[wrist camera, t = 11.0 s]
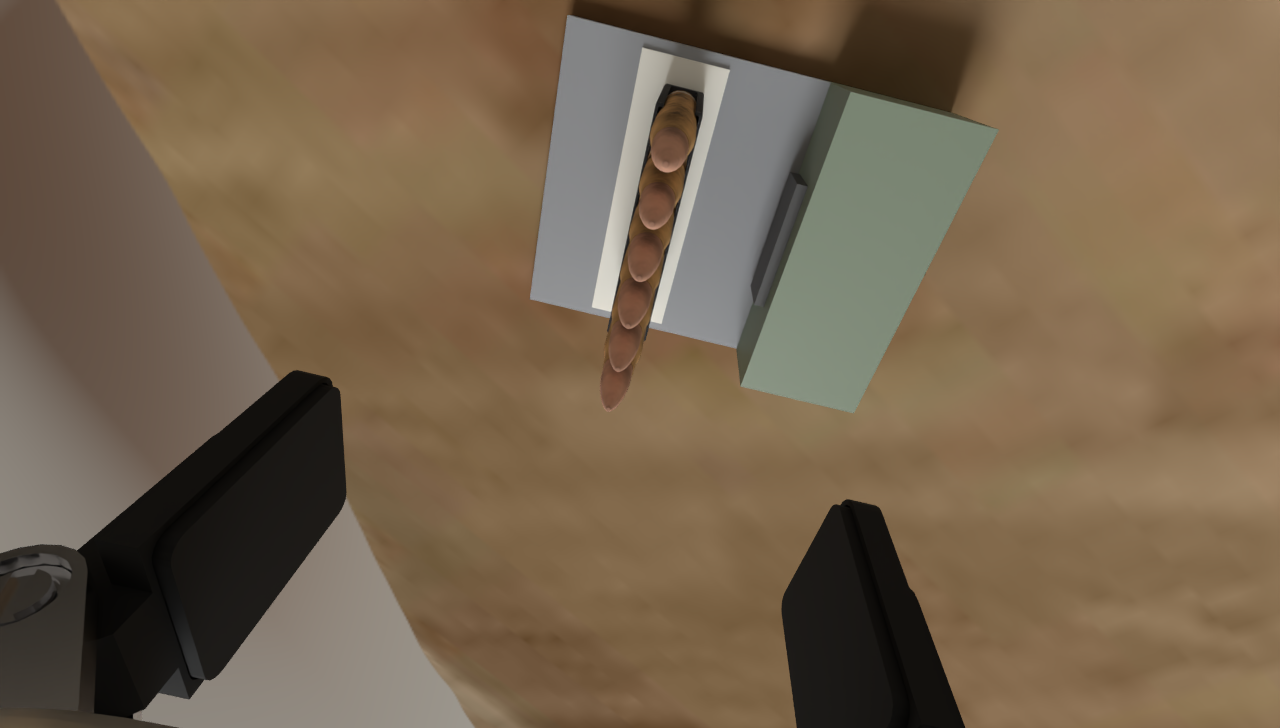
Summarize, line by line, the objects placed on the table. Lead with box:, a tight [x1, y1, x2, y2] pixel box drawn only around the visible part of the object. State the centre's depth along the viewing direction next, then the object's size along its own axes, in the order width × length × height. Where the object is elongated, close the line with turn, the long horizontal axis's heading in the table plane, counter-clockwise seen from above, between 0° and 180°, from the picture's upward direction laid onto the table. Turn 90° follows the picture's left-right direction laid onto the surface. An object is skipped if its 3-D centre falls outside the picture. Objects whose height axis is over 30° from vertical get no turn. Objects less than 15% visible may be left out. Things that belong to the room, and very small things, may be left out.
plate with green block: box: [530, 15, 998, 413], centre depth 28 cm, size 18×14×5 cm
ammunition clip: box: [600, 84, 704, 411], centre depth 24 cm, size 11×2×12 cm, turn 168°
